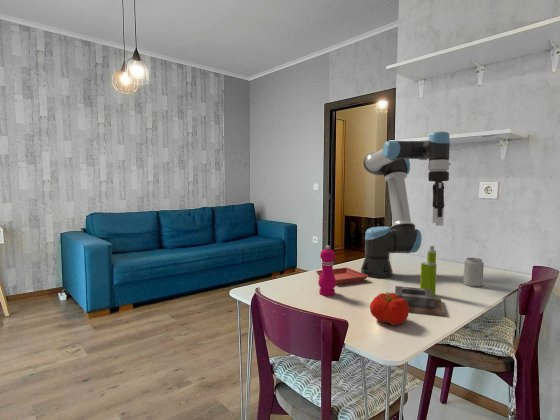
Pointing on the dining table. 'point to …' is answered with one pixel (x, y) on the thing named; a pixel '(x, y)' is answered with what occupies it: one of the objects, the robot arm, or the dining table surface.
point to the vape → (429, 271)
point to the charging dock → (429, 311)
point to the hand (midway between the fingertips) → (437, 224)
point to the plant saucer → (346, 276)
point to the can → (473, 272)
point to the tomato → (389, 308)
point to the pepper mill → (327, 273)
